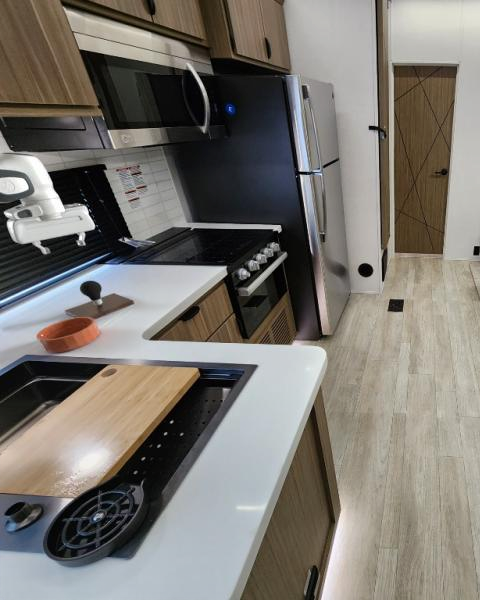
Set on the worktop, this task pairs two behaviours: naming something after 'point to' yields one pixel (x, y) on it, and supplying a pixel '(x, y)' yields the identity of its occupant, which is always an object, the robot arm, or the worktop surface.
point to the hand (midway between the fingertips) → (65, 249)
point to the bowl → (68, 334)
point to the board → (100, 307)
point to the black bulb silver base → (92, 291)
